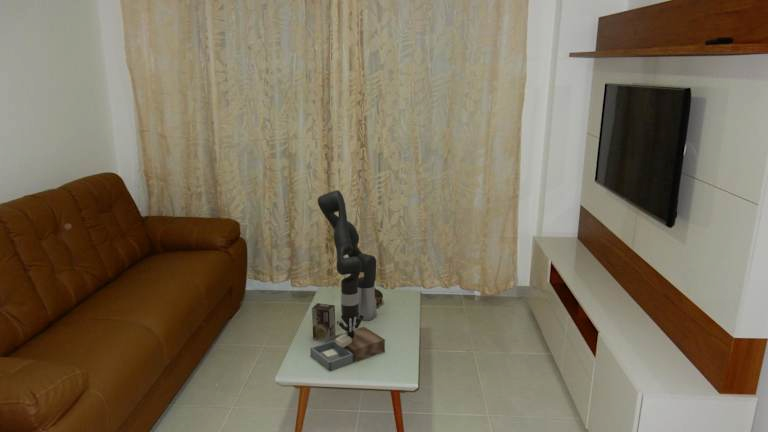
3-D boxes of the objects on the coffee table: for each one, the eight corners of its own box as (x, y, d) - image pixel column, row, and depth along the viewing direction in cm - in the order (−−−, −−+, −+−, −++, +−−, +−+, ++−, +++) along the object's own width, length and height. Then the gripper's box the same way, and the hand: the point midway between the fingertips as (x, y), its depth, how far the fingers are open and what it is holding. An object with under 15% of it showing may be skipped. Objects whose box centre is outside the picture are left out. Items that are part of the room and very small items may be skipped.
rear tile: (345, 338, 249) (344, 333, 248) (352, 342, 246) (351, 337, 245) (336, 343, 246) (335, 338, 246) (342, 347, 243) (341, 342, 242)
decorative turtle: (377, 296, 312) (378, 283, 310) (386, 309, 299) (387, 295, 296) (360, 298, 309) (361, 284, 307) (368, 310, 296) (369, 296, 293)
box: (334, 348, 254) (333, 340, 253) (353, 362, 241) (353, 354, 240) (310, 356, 247) (310, 347, 246) (329, 371, 234) (329, 362, 233)
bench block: (364, 338, 263) (364, 326, 262) (384, 351, 251) (384, 339, 249) (334, 348, 254) (334, 335, 252) (354, 362, 242) (354, 349, 240)
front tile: (322, 352, 244) (322, 357, 244) (327, 356, 240) (327, 362, 240) (332, 349, 246) (332, 354, 247) (337, 353, 242) (337, 358, 243)
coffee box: (336, 337, 265) (335, 305, 261) (330, 343, 259) (329, 310, 255) (318, 334, 268) (317, 302, 264) (312, 340, 262) (311, 307, 258)
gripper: (357, 295, 250) (358, 330, 254) (332, 302, 242) (333, 339, 247) (367, 300, 244) (368, 337, 249) (341, 308, 236) (342, 345, 241)
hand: (350, 338), depth 248 cm, fingers closed
